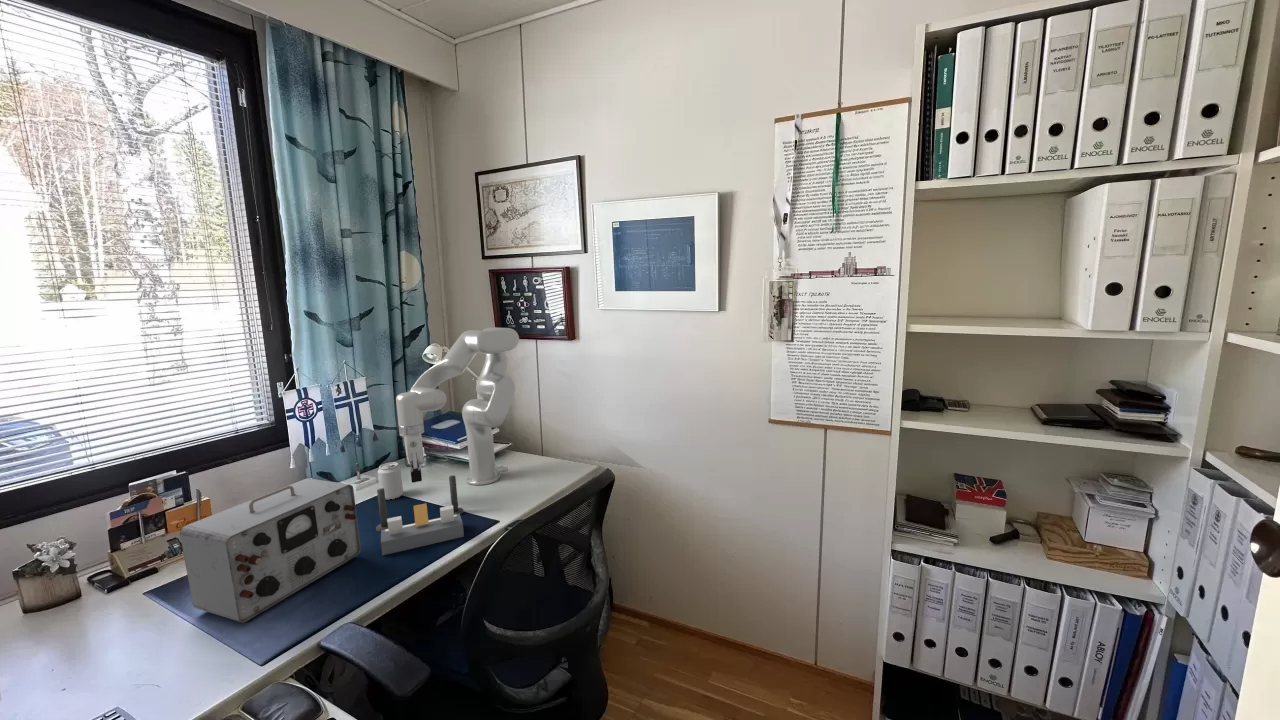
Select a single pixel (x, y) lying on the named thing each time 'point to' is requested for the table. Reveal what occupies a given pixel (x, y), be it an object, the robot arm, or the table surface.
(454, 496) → the post
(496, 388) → the robot arm
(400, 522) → the lever left
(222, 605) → the vintage electronic device
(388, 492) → the can
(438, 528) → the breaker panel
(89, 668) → the table surface
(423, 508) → the lever
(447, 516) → the lever right
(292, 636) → the table surface
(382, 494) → the post
